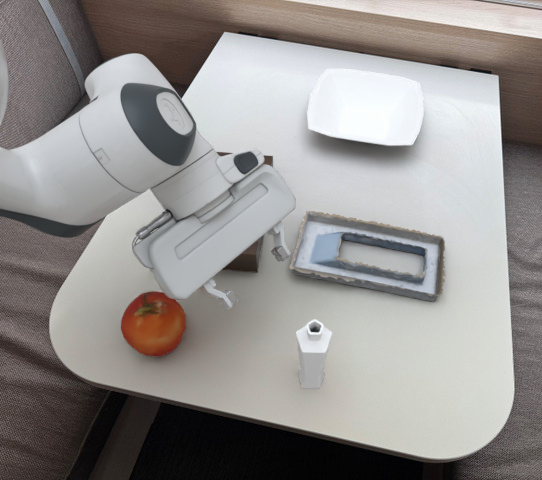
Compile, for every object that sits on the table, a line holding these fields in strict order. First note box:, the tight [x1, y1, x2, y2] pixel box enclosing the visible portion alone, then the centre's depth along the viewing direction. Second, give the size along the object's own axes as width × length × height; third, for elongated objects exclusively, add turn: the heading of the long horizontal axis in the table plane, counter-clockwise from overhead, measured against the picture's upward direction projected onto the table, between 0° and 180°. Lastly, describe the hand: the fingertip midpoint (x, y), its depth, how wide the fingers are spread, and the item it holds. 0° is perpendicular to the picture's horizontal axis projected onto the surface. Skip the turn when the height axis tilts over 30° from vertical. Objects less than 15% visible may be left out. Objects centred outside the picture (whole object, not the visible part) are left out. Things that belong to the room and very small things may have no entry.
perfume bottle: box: [295, 318, 333, 389], centre depth 69 cm, size 5×4×15 cm
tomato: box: [120, 290, 187, 358], centre depth 75 cm, size 9×9×8 cm
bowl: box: [306, 68, 425, 147], centre depth 107 cm, size 22×23×6 cm
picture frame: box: [289, 210, 446, 302], centre depth 87 cm, size 13×25×3 cm, turn 80°
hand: (259, 280), depth 66 cm, fingers open, 8 cm apart
